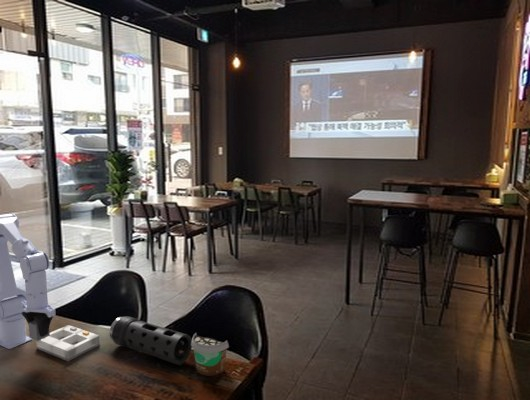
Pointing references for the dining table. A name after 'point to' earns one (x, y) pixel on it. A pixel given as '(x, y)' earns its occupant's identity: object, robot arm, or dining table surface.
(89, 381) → the dining table surface
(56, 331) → the double socket
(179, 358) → the muzzle brake
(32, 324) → the plug
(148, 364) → the dining table surface
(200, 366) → the food container
